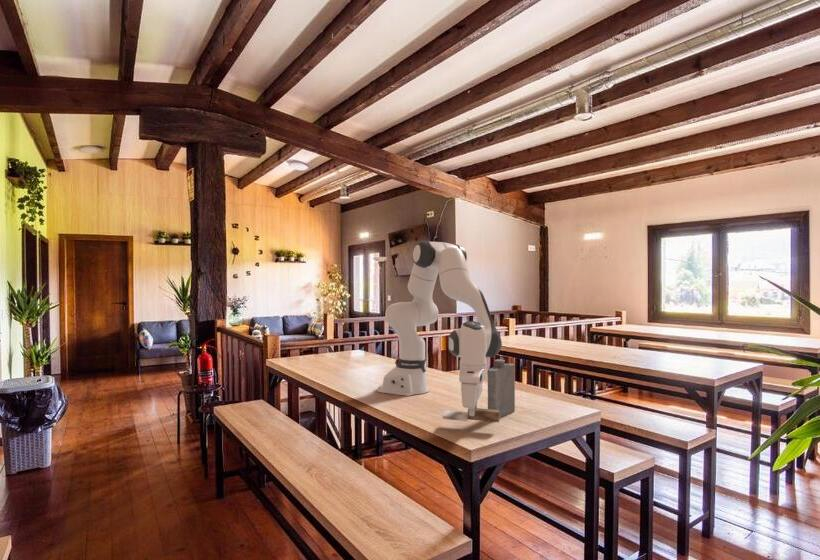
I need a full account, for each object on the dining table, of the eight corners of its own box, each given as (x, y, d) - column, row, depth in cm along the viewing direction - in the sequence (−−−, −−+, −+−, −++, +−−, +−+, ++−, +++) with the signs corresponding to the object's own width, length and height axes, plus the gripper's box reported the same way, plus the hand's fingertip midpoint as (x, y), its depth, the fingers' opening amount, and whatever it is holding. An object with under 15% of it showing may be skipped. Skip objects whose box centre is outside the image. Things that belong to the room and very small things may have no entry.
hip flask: (493, 421, 159) (493, 364, 158) (483, 419, 161) (483, 362, 161) (516, 411, 170) (516, 357, 170) (506, 409, 173) (506, 356, 173)
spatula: (500, 418, 151) (500, 408, 151) (498, 424, 145) (498, 414, 145) (446, 413, 156) (446, 403, 156) (442, 418, 151) (442, 409, 150)
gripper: (468, 364, 161) (468, 403, 162) (458, 378, 142) (457, 422, 142) (486, 365, 159) (486, 405, 160) (478, 379, 140) (478, 424, 140)
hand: (472, 413), depth 151 cm, fingers closed on spatula, 2 cm apart
